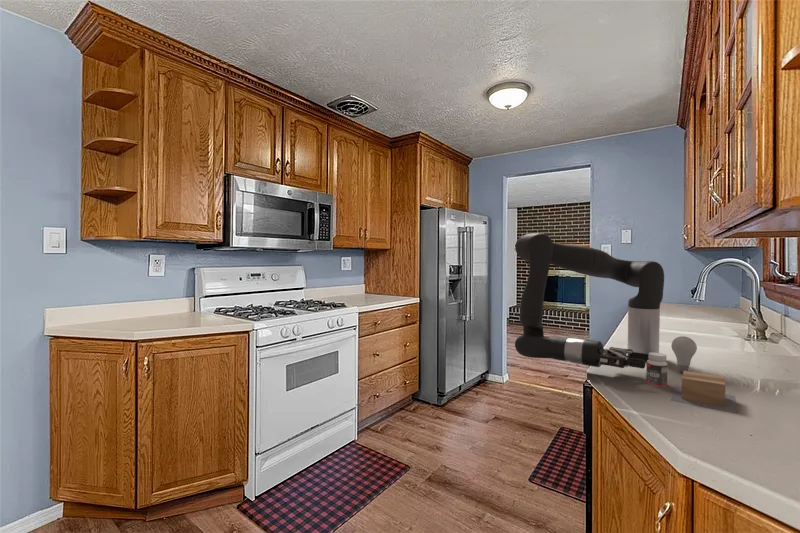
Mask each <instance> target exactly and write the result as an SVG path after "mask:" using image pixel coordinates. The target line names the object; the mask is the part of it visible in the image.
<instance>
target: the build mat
mask: <svg viewBox="0 0 800 533" xmlns="http://www.w3.org/2000/svg"><path fill="white" fill-rule="evenodd" d="M670 401H671V402H677V403H682V404H685V405H691V406H692V405H693V406H697V407H703V408H708V409H714V410H718V411H723V412H728V413H729V412H730V413H734V414H738V409H737V403H736V396H735V395H733V394H726V393H725V407H723V406H718V405H713V404H707V403H702V402H697V401H691V400H686V399H682V385H681V386H679V385H674V387H673V390H672V393H671V397H670Z"/></svg>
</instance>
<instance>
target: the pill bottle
mask: <svg viewBox="0 0 800 533" xmlns="http://www.w3.org/2000/svg"><path fill="white" fill-rule="evenodd" d="M648 358H649V360H647V362H646V366H645V368H646V374H645V382H646V383H647V385H651V386H655V387H667V386H668V367H669V366H668V362H667V354H665V353H661V352H659V353H654V352H652V353H649V357H648Z"/></svg>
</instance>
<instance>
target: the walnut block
mask: <svg viewBox="0 0 800 533" xmlns="http://www.w3.org/2000/svg"><path fill="white" fill-rule="evenodd" d="M681 387H682V399H686V400H691V401H697V402H702V403H707V404H713V405H718V406H723V407H725V394H726V376H722V375H714V374H711V373H710V374H709V373H702V372H695V371H690V370H689V371H684V372H683V373H682V377H681Z"/></svg>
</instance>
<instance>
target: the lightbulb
mask: <svg viewBox="0 0 800 533" xmlns="http://www.w3.org/2000/svg"><path fill="white" fill-rule="evenodd" d="M671 350H672V352H673V354H674V355H675V358H676V363H677V366H678V367H677V369H678V371H679V372H680V373H681V374H683V372H684V371H690V366H691V362H692V359H693V357H694V355H695V354H696V353H697V350H698V346H697V344H696V342H695V341H694V340H693V339H692V338H691V337H688V336H683V335H681V336H677V337H675V338H674V339H673V340H672V342H671Z"/></svg>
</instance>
